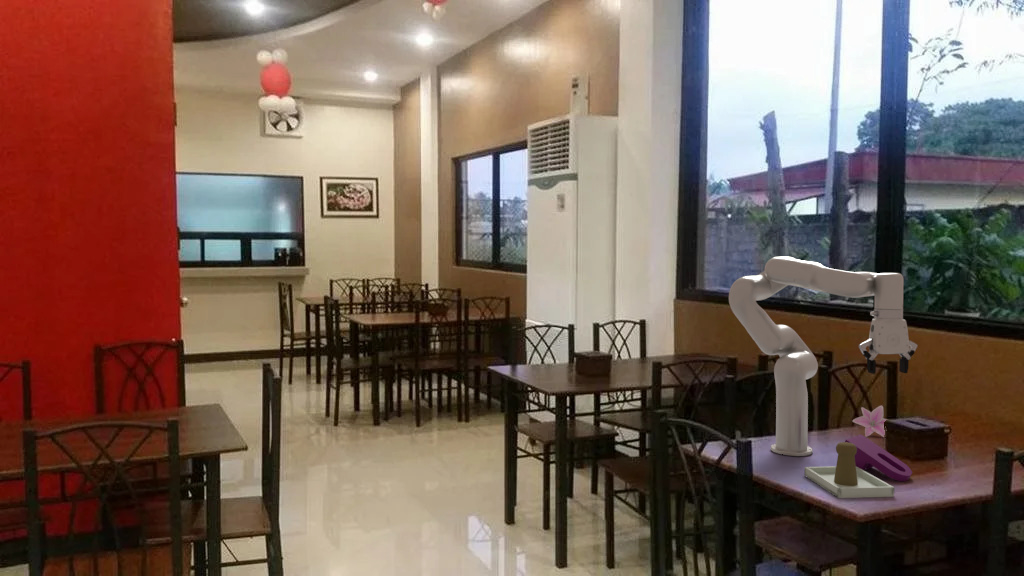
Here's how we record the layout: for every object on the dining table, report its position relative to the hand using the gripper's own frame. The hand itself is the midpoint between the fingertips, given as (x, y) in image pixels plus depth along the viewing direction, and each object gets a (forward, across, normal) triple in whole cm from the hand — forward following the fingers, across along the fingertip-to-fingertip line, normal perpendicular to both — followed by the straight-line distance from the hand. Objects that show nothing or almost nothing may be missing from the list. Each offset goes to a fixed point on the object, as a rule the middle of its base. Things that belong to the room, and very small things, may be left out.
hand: (887, 372), depth 224 cm
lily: (+29, +18, +39) cm, 52 cm away
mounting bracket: (+29, -6, -6) cm, 30 cm away
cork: (+28, -20, -16) cm, 38 cm away
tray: (+28, -20, -16) cm, 38 cm away
